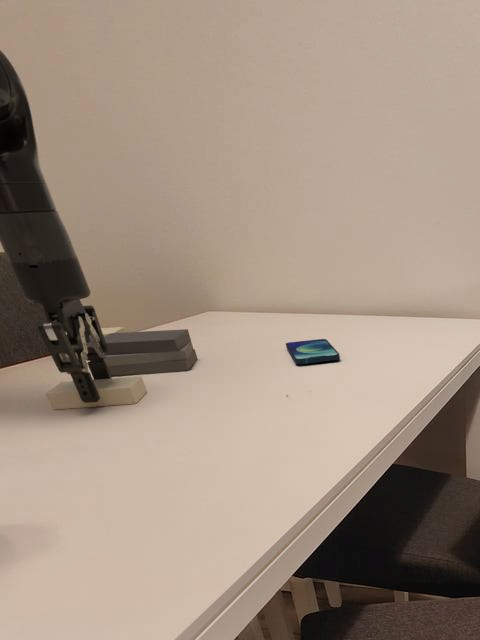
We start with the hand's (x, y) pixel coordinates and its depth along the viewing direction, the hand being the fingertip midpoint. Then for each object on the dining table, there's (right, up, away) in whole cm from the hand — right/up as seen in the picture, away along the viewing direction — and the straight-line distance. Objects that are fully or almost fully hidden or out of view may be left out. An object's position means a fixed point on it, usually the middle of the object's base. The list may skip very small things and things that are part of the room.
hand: (99, 394), depth 84 cm
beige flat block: (0, -1, 0) cm, 1 cm away
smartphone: (+25, +15, +20) cm, 35 cm away
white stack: (-16, +17, +24) cm, 33 cm away
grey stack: (-1, +11, +15) cm, 19 cm away
